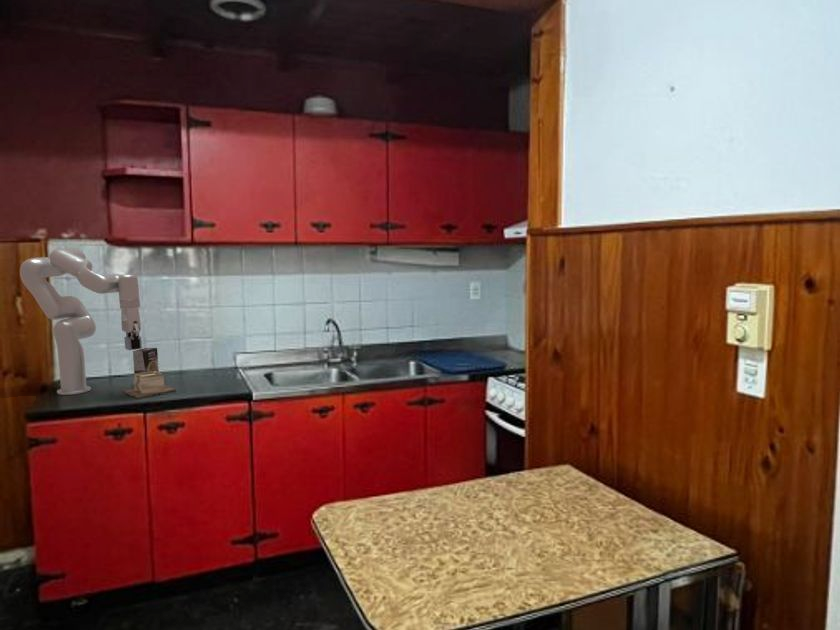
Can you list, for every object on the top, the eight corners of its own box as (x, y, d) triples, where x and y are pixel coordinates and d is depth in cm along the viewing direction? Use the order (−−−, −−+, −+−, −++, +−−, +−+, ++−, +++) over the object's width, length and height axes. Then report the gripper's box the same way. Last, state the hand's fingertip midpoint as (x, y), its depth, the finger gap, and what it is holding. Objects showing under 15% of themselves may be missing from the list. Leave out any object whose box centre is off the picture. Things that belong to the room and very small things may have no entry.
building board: (123, 392, 257) (121, 374, 256) (161, 386, 268) (160, 368, 267) (136, 399, 245) (135, 379, 244) (176, 391, 256) (174, 373, 255)
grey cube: (125, 349, 251) (124, 337, 250) (138, 347, 254) (137, 335, 254) (129, 350, 247) (128, 338, 247) (142, 348, 251) (141, 336, 250)
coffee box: (147, 387, 266) (144, 351, 264) (134, 386, 268) (131, 350, 266) (160, 382, 275) (157, 347, 273) (147, 382, 276) (145, 347, 275)
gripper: (113, 304, 253) (117, 347, 255) (126, 306, 240) (130, 351, 242) (132, 302, 258) (136, 345, 260) (146, 304, 245) (150, 348, 247)
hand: (133, 347), depth 251 cm, fingers closed on grey cube, 5 cm apart
